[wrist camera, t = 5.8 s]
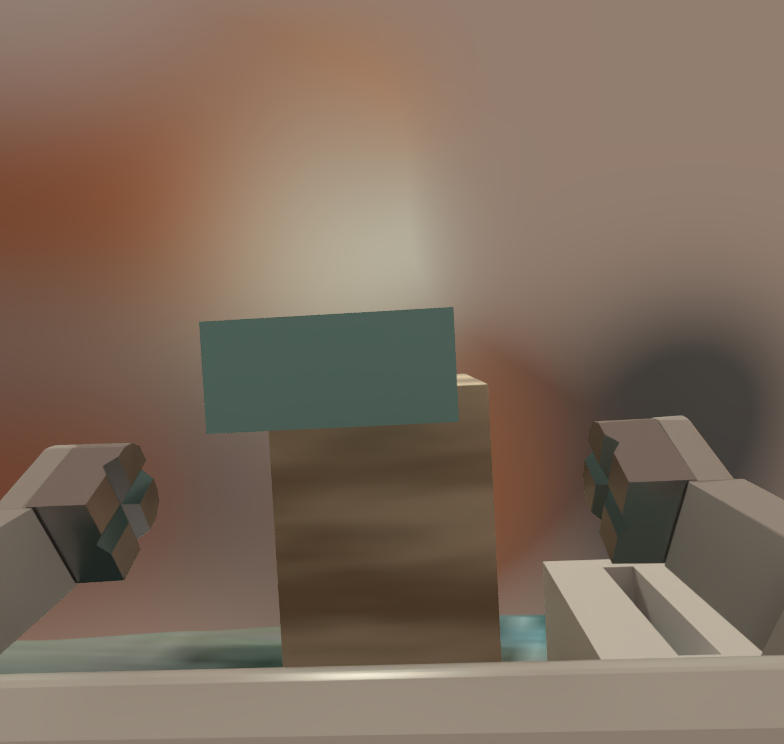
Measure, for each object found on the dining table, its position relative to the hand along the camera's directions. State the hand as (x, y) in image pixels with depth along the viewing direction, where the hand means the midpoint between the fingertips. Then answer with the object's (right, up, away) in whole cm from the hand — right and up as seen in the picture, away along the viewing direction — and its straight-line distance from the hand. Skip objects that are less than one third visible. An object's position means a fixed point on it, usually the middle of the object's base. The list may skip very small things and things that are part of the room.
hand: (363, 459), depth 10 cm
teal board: (0, +1, +14) cm, 14 cm away
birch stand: (+2, -25, +15) cm, 29 cm away
